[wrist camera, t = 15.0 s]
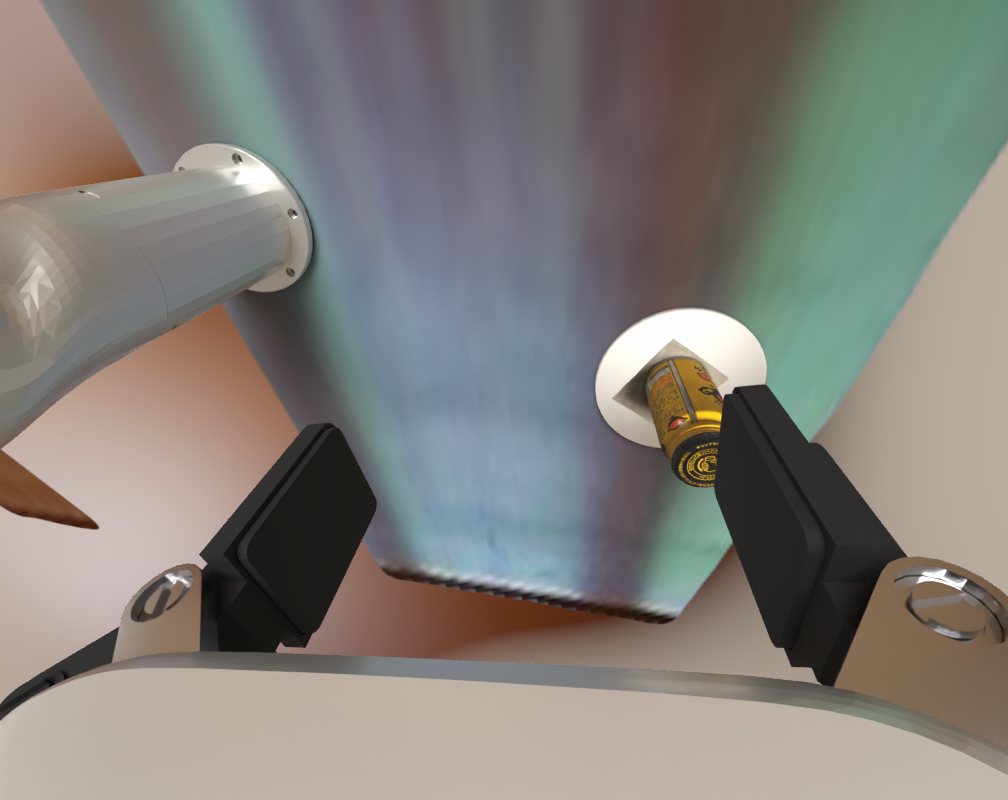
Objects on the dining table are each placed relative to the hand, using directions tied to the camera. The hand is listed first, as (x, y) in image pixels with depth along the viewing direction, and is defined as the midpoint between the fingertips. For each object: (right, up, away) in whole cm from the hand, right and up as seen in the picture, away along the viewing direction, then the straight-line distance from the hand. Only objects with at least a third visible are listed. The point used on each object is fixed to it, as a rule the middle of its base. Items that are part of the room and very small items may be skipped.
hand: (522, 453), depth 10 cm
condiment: (+16, +3, +32) cm, 36 cm away
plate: (+17, +3, +32) cm, 37 cm away
